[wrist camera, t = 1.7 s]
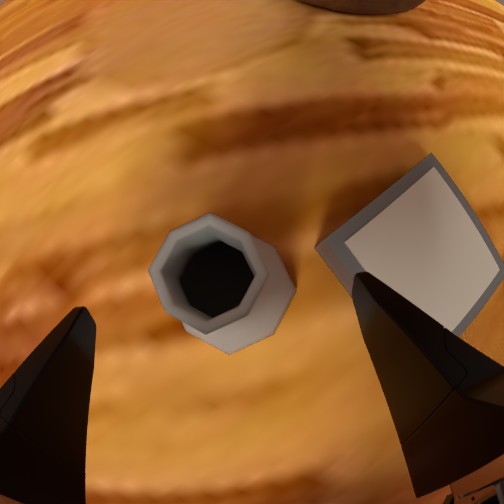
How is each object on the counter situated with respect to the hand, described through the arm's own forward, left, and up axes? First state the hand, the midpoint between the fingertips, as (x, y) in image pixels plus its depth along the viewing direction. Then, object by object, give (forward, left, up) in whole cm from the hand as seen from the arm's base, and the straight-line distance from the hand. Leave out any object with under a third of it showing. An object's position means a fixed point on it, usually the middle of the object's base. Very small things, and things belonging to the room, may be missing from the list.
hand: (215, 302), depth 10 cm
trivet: (-5, -11, -9) cm, 15 cm away
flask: (+1, 0, -9) cm, 9 cm away
